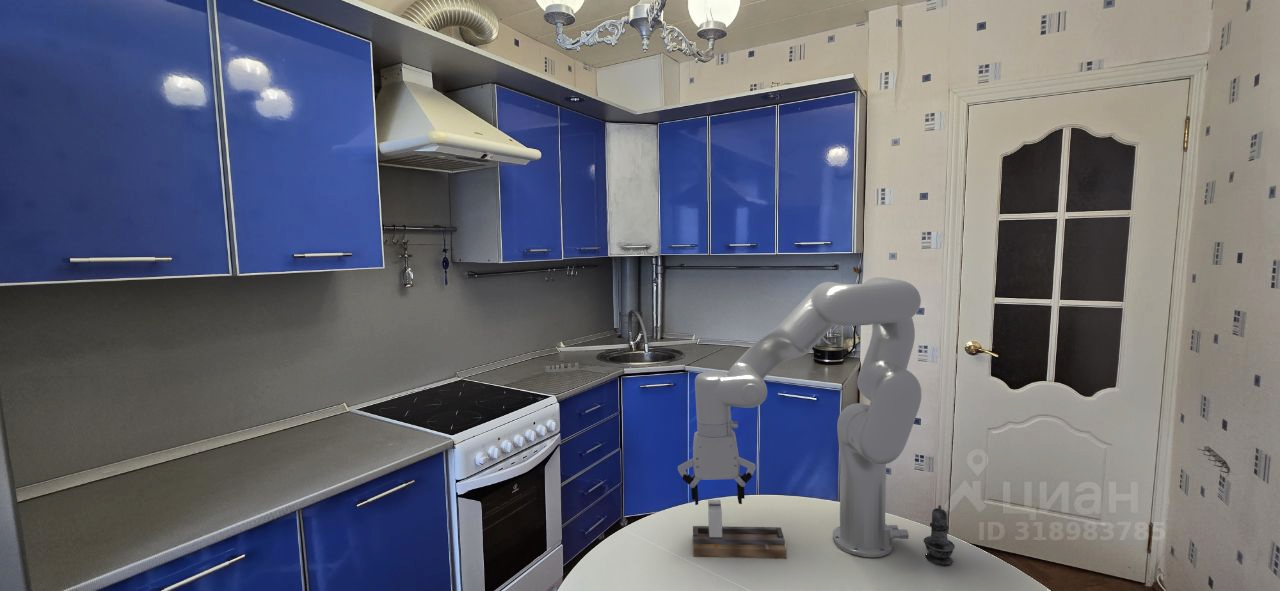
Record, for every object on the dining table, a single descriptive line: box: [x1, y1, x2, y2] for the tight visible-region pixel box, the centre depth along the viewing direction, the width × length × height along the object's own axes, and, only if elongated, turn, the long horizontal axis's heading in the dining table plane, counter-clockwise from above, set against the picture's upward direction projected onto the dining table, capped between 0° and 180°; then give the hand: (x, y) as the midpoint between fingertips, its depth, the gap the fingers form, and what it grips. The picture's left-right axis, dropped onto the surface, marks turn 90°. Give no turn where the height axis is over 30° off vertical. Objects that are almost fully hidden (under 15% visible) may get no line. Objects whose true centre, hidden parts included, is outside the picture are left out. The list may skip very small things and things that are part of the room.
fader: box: [707, 499, 723, 537], centre depth 125 cm, size 3×6×8 cm, turn 175°
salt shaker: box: [923, 504, 956, 567], centre depth 118 cm, size 6×6×12 cm
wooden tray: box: [692, 525, 787, 560], centre depth 125 cm, size 20×9×4 cm, turn 85°
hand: (718, 501), depth 125 cm, fingers open, 9 cm apart
